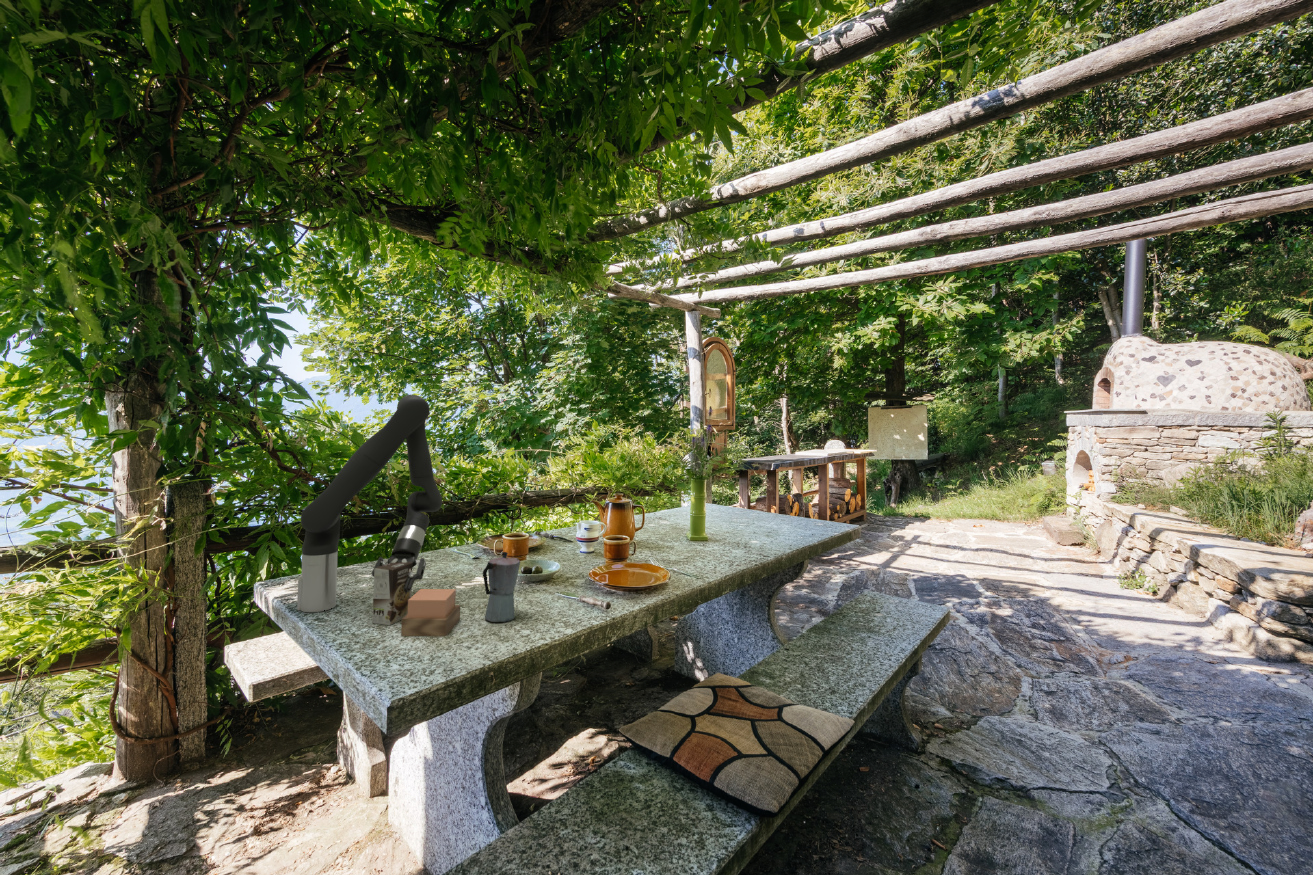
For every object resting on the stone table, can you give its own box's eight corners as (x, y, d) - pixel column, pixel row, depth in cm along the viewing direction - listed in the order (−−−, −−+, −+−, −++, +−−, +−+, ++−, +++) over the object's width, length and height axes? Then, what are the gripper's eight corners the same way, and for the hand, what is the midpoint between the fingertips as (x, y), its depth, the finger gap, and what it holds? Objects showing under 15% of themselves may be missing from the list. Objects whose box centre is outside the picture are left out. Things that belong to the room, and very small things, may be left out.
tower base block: (400, 637, 142) (401, 618, 142) (418, 620, 154) (419, 604, 154) (445, 637, 143) (446, 619, 143) (459, 621, 155) (460, 605, 155)
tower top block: (407, 618, 143) (408, 600, 143) (420, 605, 153) (420, 588, 153) (445, 618, 144) (445, 600, 144) (455, 605, 154) (455, 589, 154)
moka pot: (527, 612, 163) (529, 549, 163) (497, 630, 148) (499, 560, 148) (501, 608, 166) (503, 546, 166) (469, 624, 151) (471, 556, 151)
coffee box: (390, 625, 149) (392, 569, 148) (371, 623, 150) (373, 567, 150) (412, 614, 158) (413, 562, 157) (393, 612, 159) (395, 560, 159)
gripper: (382, 536, 161) (361, 584, 149) (429, 537, 161) (412, 585, 150) (389, 549, 166) (370, 596, 155) (435, 550, 167) (419, 597, 155)
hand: (391, 590), depth 152 cm, fingers open, 8 cm apart
